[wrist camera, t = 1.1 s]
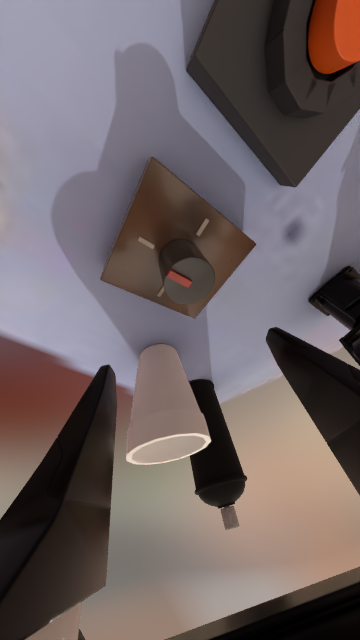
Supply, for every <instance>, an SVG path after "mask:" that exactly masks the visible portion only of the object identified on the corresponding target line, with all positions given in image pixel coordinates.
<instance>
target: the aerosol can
mask: <svg viewBox="0 0 360 640" xmlns="http://www.w3.org/2000/svg"><path fill="white" fill-rule="evenodd" d="M189 384H190V386H191V389H192V391H193V394H194V396H195V399H196V402H197V404H198V407H199V409H200V412H201V413H203V415H204V418H205V420H206V424H207V427H208V431H209V435H210V438H211V442H210V443H209V444H208V445H207V447H206V448H204V449H202V450H200V451H198V452H197V453H195V454H192V455H190V460H191V465H192V471H193V476H194V481H195V486H196V490H195V494H196V495H199V497H200V498H201V499H202V500H203V501H204V502H205V503H206V504H209V505H211V506H216V507H218V508H222V507H224V508H223V509H221V513H222V518H223V521H224V526H225V529H226V530H228V529H232V528H236V527H238V526H239V523H238V519H237V516H236V512H235V509H234V506H230V505H233V504H235V501H236V500H237V499H238V498H239V497H240V496H241V495H242V493H243V491H244V488H245V481H246V480H247V477H246V476H245V475H244V473H243V470H242V467H241V464H240V462H239V459H238V456H237V453H236V450H235V447H234V445H233V442H232V439H231V436H230V433H229V430H228V428H227V425H226V422H225V419H224V416H223V413H222V410H221V408H220V405H219V402H218V399H217V396H216V393H215V391H214V384H213V383H212V382H211V381H208V380H194V381H191V382H189ZM229 506H230V507H229Z"/></svg>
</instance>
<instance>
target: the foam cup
mask: <svg viewBox="0 0 360 640" xmlns="http://www.w3.org/2000/svg"><path fill="white" fill-rule="evenodd" d="M210 442H211V438H210V435H209V431H208V427H207V424H206V420H205V418H204V415H203V413H201V412H200V409H199V407H198V404H197V402H196V399H195V396H194V394H193V391H192V389H191V386H190V384H189V381H188V379H187V376H186V374H185V371H184V369H183V366H182V364H181V361H180V359H179V356H178V354H177V352H176V349H175V348H173V347H171V346H170V345H165V344H158V345H152V346H150V347H148V348H146V349H144V350H143V351H142V352H141V354H140V356H139V362H138V369H137V376H136V383H135V391H134V398H133V405H132V412H131V419H130V427H129V428H128V429H127V453H126V460H127V461H128V462H131V463H133V464H145V465H149V464H158V463H165V462H169V461H173V460H178V459H181V458H184V457H187V456H189V455H192V454H195V453H197V452H198V451H200V450H202V449H204V448H206V447H207V445H208V444H209V443H210Z"/></svg>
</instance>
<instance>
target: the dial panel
mask: <svg viewBox="0 0 360 640" xmlns="http://www.w3.org/2000/svg"><path fill="white" fill-rule="evenodd" d="M179 239H184V240H188V241H191V242H192V243H194V244H195V245H196V246H197V247H198V249H199V250H200V251H201V253H202V254H203V255H204V257H205V258H206V259H207V260H208V262H209V263H210V264H211V266H212V267H213V269H214V272H215V283H214V286H213V288H212V290H211V292H210V293H209V294H208V295H207V296H206V297H205V298H204V299H202V300H201V301H199V302H197V303H194V304H188V305H183V304H178V303H176V302H174V301H172V300H171V299H170V298H169V297H168V296H167V295H166V293H165V291H164V287H163V282H162V278H161V274H160V270H159V265H158V259H159V255H160V253H161V251H162V249H163V248H164V247H165V246H166V245H167V244H169V243H170V242H172V241H175V240H179ZM255 245H256V243H255V242H254V241H252V240H251V239H250V238H249V237H248V236H247V235H245V234H244V233H243V232H242V231H241V230H239V229H238V228H237V227H236V226H235V225H233V224H232V223H231V222H230V221H229V220H227V219H226V218H225V217H224V216H223V215H222V214H220V213H219V212H218V211H217V210H216V209H214V208H213V207H212V206H211V205H210V204H208V203H207V202H206V201H205V200H204V199H202V198H201V197H200V196H199V195H198V194H197V193H195V192H194V191H193V190H192V189H191V188H189V187H188V186H187V185H186V184H185V183H183V182H182V181H181V180H180V179H179V178H177V177H176V176H175V175H174V174H173V173H172V172H170V171H169V170H168V169H167V168H166V167H164V166H163V165H162V164H161V163H160V162H158V161H157V160H156V159H155V158H154V157H150V158H149V160H148V162H147V165H146V167H145V169H144V172H143V174H142V177H141V179H140V181H139V184H138V186H137V189H136V191H135V193H134V196H133V198H132V201H131V203H130V206H129V208H128V210H127V213H126V215H125V218H124V220H123V222H122V225H121V227H120V230H119V232H118V234H117V237H116V239H115V242H114V244H113V246H112V249H111V251H110V254H109V256H108V258H107V261H106V263H105V266H104V269H103V272H102V276H101V280H102V281H105V282H107V283H109V284H112V285H114V286H117V287H119V288H122V289H124V290H126V291H129V292H131V293H134V294H136V295H139V296H141V297H143V298H146V299H148V300H151V301H153V302H156V303H158V304H160V305H163V306H165V307H168V308H170V309H173V310H175V311H178V312H180V313H182V314H185V315H187V316H190V317H192V318H196V317H197V315H198V314H199V313H200V312H201V311H202V309H203V308H204V307H205V306H206V305H207V303H208V302H209V301H210V300H211V299H212V297H213V296H214V295H215V294H216V292H217V291H218V290H219V289H220V288H221V286H222V285H223V284H224V283H225V282H226V280H227V279H228V278H229V277H230V276H231V274H232V273H233V272H234V271H235V270H236V268H237V267H238V266H239V265H240V263H241V262H242V261H243V260H244V259H245V257H246V256H247V255H248V254H249V253H250V251H251V250H252V249H253V248H254V247H255Z"/></svg>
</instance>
